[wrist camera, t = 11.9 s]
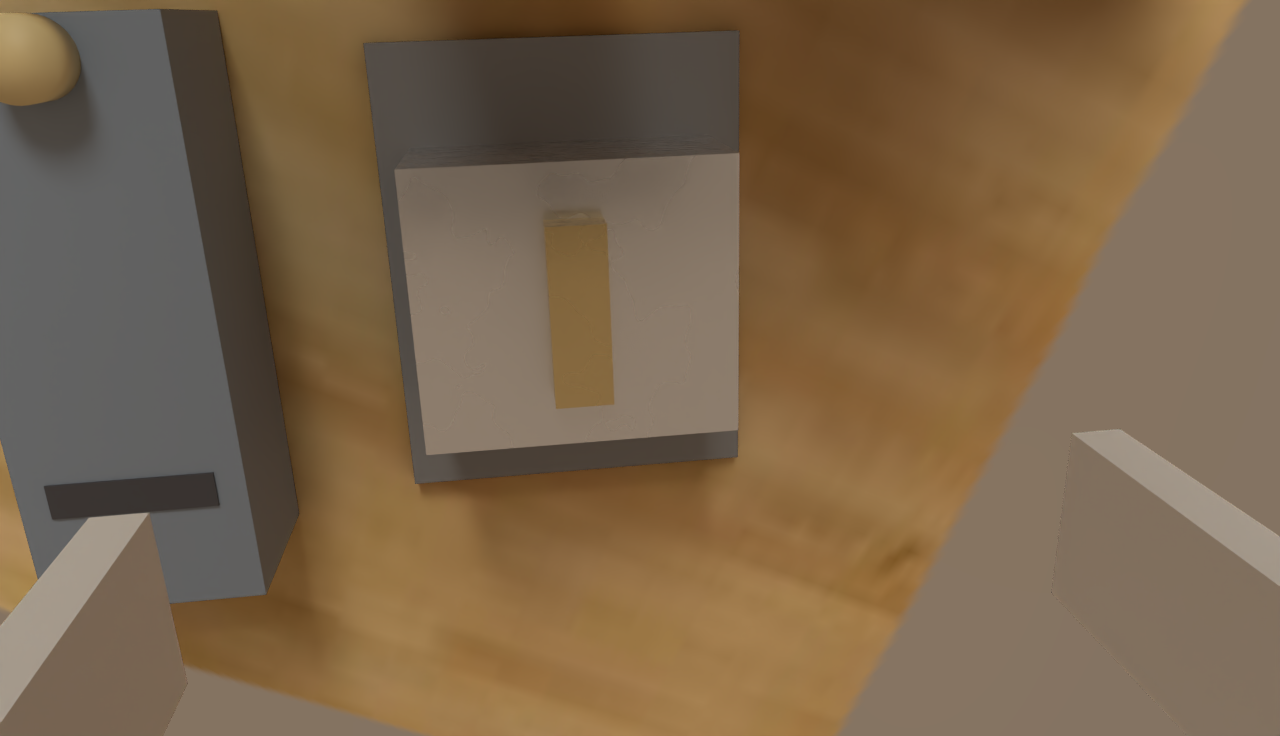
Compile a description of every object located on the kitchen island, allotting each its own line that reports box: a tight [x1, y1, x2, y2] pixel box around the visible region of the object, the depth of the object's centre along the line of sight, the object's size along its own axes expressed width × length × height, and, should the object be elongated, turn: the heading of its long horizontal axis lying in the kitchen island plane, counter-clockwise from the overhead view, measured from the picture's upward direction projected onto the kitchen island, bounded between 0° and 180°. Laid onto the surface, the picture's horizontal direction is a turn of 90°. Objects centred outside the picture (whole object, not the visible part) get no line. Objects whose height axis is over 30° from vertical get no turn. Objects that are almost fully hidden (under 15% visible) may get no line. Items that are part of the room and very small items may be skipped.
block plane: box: [0, 9, 299, 604], centre depth 27 cm, size 16×6×6 cm, turn 2°
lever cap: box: [394, 135, 739, 455], centre depth 29 cm, size 8×9×6 cm
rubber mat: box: [363, 31, 739, 484], centre depth 32 cm, size 14×11×1 cm
